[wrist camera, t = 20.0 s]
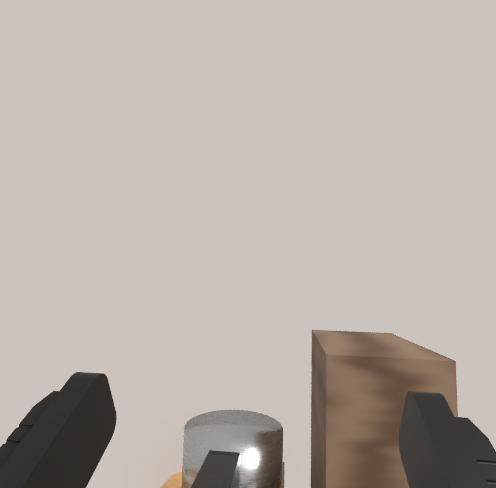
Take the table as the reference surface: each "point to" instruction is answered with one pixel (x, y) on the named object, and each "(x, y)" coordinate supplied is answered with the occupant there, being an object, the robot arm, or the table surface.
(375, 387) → the tall walnut stand
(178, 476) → the table surface
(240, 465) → the steel pot
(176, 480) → the table surface
